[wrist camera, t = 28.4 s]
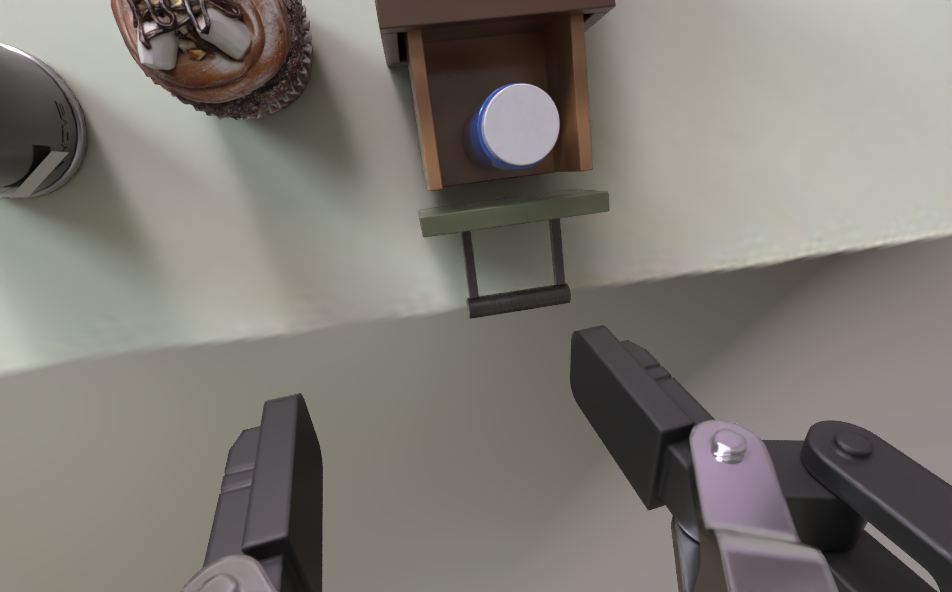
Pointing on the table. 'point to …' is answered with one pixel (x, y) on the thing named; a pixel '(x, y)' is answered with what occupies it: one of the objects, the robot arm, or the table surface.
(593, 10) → the cabinet
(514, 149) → the pepper shaker
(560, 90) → the drawer
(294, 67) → the cupcake
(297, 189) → the table surface
